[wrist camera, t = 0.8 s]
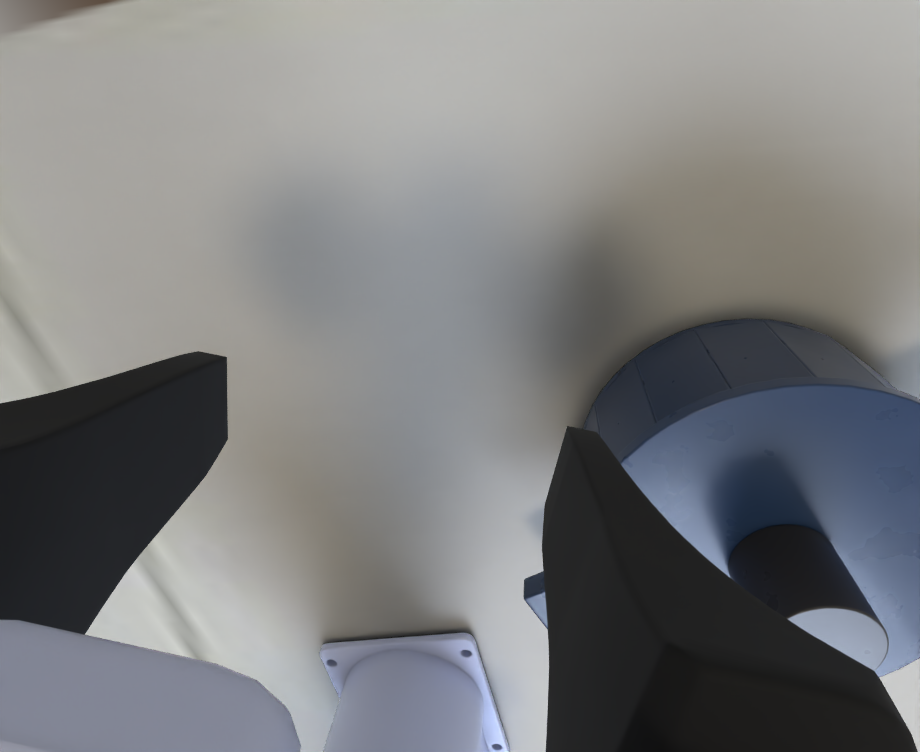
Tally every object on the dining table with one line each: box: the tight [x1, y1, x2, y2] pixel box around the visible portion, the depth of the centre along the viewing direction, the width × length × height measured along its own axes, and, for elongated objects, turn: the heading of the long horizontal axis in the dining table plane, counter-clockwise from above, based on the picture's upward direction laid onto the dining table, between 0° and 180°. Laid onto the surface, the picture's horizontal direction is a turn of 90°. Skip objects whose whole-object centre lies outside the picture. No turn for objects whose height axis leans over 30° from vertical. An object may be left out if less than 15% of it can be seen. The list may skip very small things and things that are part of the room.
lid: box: [616, 377, 920, 677], centre depth 17 cm, size 12×12×4 cm
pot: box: [524, 319, 897, 629], centre depth 21 cm, size 11×17×5 cm
